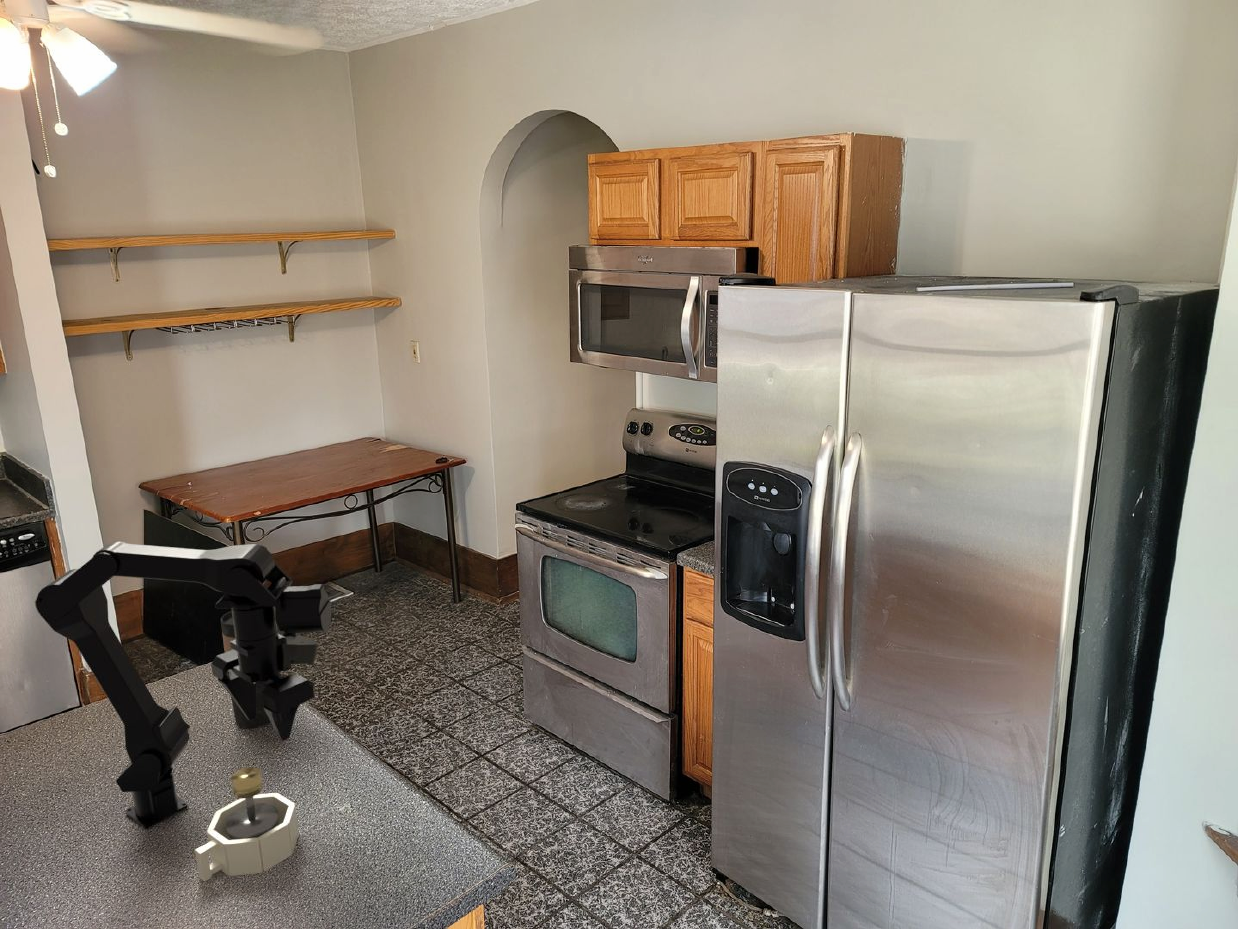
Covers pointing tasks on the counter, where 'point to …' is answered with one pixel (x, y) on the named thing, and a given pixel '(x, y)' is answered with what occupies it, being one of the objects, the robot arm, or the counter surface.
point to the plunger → (250, 807)
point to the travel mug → (261, 715)
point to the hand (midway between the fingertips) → (268, 729)
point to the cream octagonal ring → (248, 841)
